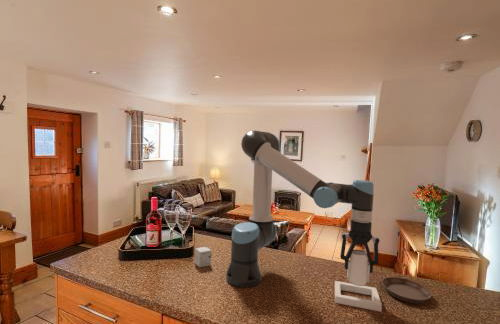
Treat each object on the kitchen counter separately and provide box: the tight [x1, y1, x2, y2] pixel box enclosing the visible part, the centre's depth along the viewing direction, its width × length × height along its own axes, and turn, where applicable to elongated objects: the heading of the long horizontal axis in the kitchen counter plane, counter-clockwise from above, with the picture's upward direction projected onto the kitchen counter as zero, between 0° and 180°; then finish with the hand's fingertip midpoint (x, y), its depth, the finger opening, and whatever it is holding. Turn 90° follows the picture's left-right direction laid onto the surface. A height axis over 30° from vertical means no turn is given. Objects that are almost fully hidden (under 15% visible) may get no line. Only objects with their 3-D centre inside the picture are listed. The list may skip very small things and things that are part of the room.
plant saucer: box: [381, 276, 432, 304], centre depth 112 cm, size 18×18×3 cm
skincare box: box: [194, 246, 212, 268], centre depth 131 cm, size 6×6×7 cm
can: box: [348, 249, 369, 286], centre depth 106 cm, size 6×6×12 cm
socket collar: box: [334, 280, 383, 313], centre depth 106 cm, size 16×13×2 cm
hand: (357, 278), depth 106 cm, fingers closed on can, 6 cm apart
